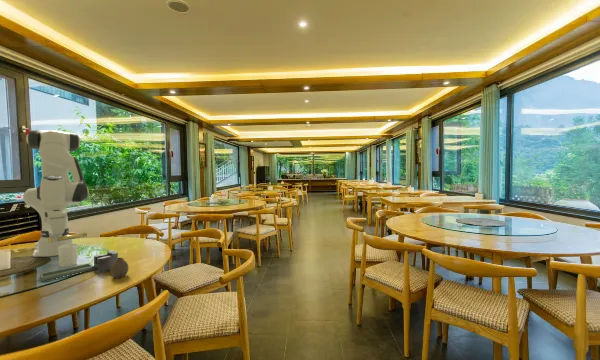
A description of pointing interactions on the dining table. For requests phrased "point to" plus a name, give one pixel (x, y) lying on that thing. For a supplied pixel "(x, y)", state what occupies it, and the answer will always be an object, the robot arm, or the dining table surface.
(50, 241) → the hitch pin
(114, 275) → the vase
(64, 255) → the white cup
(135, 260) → the dining table surface
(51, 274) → the tray
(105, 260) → the hitch block
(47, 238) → the robot arm
